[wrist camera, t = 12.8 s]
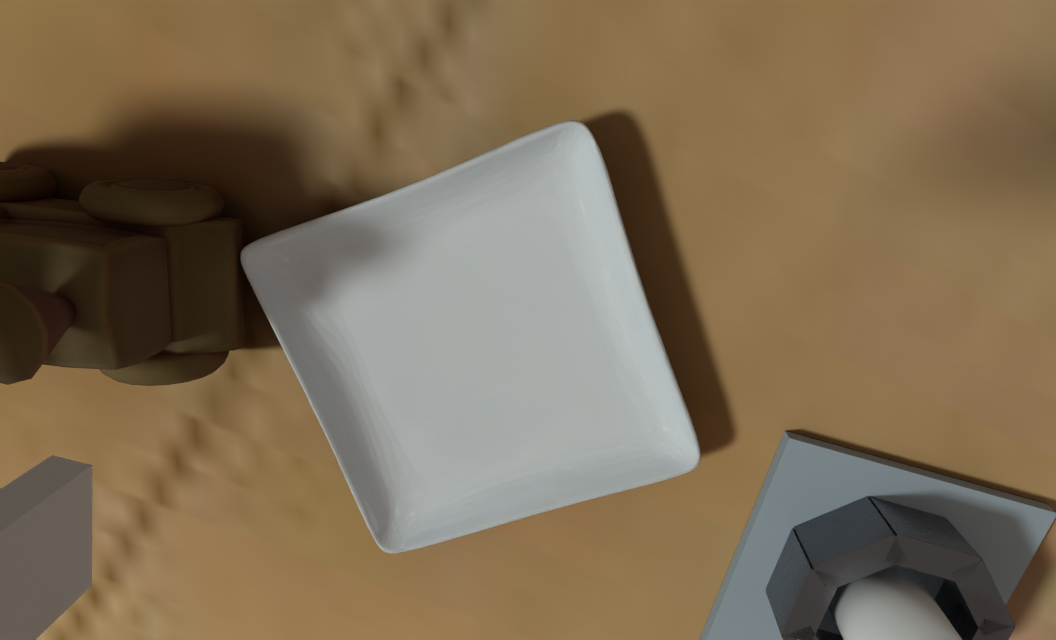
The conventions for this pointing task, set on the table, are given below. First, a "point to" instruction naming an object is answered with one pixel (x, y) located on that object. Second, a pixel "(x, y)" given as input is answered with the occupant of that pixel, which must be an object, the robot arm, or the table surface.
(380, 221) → the salad plate
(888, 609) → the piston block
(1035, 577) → the table surface
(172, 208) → the wooden toy train
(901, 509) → the ring
